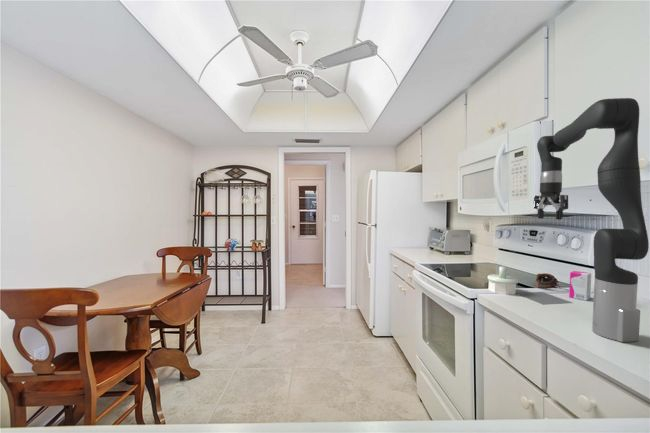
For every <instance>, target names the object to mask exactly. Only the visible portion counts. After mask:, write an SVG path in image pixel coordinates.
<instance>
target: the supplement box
mask: <svg viewBox="0 0 650 433" xmlns="http://www.w3.org/2000/svg"><path fill="white" fill-rule="evenodd" d="M591 282H592V273H591V272H585V271H577V270H573V271H570V272H569V292H568V293H569V296H568V297H569V299H570V298H571V299H575V300H580V301H584V302H587V301H589V300H591V288H592V284H591Z"/></svg>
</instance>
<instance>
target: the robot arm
mask: <svg viewBox="0 0 650 433" xmlns="http://www.w3.org/2000/svg"><path fill="white" fill-rule="evenodd" d="M639 125H640V106H639V102H638V101H637V100H636V99H635V98H630V97H621V98H619V97H618V98H603V99H599V100H597V101H596V102H594V103H593V104H591V105H590V106H589V107H587V108H586V109H585V110H584V111H583V112H582V113H581V114H579V116H578V117H577V118H576V119H575V120H573V121H572V122H571V123H570V124H568V125H567V126H566V125H565V127H563V128H562V129H560V130H558V131H556V132H555V133H554V135H545V136H541V137H540V138H539V139H538V140H537V144H536V148H537V151H538V152H537V153H538V155H539V159H540V162H541V166H540V169H541V170H540V177H539V193H540V195H534V196H535V197H533V202H534V201H535V207H534V208H533V209H534V210H535V209H536V210H537V216H536V217H537V218H538V219H544V214H545V213H544V212H545V210H544V209H545V208H546V207H548V206H552V207H554V209H555V210H556V211H555V219H556V220H559V221H560V220H562V219H563V218H564V216H563V215H564V210H565V211H566V210H568V209H569V195H568V194H561V193H562V192H563V191H562V190H563V188H562V187H563V172H562V170H563V160H562V158H561V157H557V156H553V155H552V154H551V153H560V152H564V151H566V150H567V149H568V148H569V147H570V146H571V145H572V144H574V143H577V142H578V141H580V140H582V139H583V138H584V137H585V135H586V134H587V131H588V130H593V129H598V130H601V129H603V130H604V129H605V130H606V129H610V130H611V129H613V131H614V138H613V139H614V141H613V145H612V146H611V148H610V150H609V151H608V152H607V154H606V155H605V156H604V157H603V158H602V160H601V162H600V163H599V165H598V168H597V188H598V189H599V191H600V193H601V194H602V196H603V197H604V198H605V199H606V201H608V202H609V204H610V205H611V206H612V207H613V208H614V209H615V210H616V211H617V213H618V215H619V217H620V219H621V223H622V228H600V229H598V230H597V231H596V232H595V234H594V236H593V270H594V287H593V302H592V303H593V307H592V326H591V328H592V329H591V331H592V332H593V333H595V334H596V335H599V336H601V337H603V338H607V339H611V340H614V341H618V342H619V343H628V342H629V343H631V342H639V340H640V327H641V326H640V324H641V323H640V322H641V310H640V309H639V308H637V299H638V285H639V284H638V283H639V277H638V274H637V273H636V272H633V271H630V270H628V269H624V268H622V267H620V266H618V265H617V264H616V263H617V262H616V259H617V260H632V261H633V260H634V261H638V260H644V258H645V257H646V256H647V255H648V253H649V252H648V251H649V248H650V247H649V236H648V231H647V226H646V221H645V216H644V212H643V210H644V209H643V201H642V188H641V170H640V161H639V147H638V146H639V143H638V142H639V141H638V140H639V128H640V127H639ZM537 203H538V204H539V206H537Z"/></svg>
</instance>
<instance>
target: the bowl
mask: <svg viewBox="0 0 650 433" xmlns="http://www.w3.org/2000/svg"><path fill="white" fill-rule="evenodd" d="M487 288H488V291H490V292H492V293H494V294H500V295H506V296H509V295H516V294H515V293H517V284H503V283H497V282H493V281H490V280H488V287H487Z"/></svg>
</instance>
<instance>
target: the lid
mask: <svg viewBox="0 0 650 433" xmlns="http://www.w3.org/2000/svg"><path fill="white" fill-rule="evenodd" d="M498 268H499V270H498V271H499V272H498V274H497V273H496V274H493V273H492V274H488V275H487V280H488V281H489V280H490V281H493V282H497V283H503V284H516V285H517V284H518V283H519V279H518V277H514V276H511V275H507V267H506V266H503V265H501V266H500V265H499V267H498Z"/></svg>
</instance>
